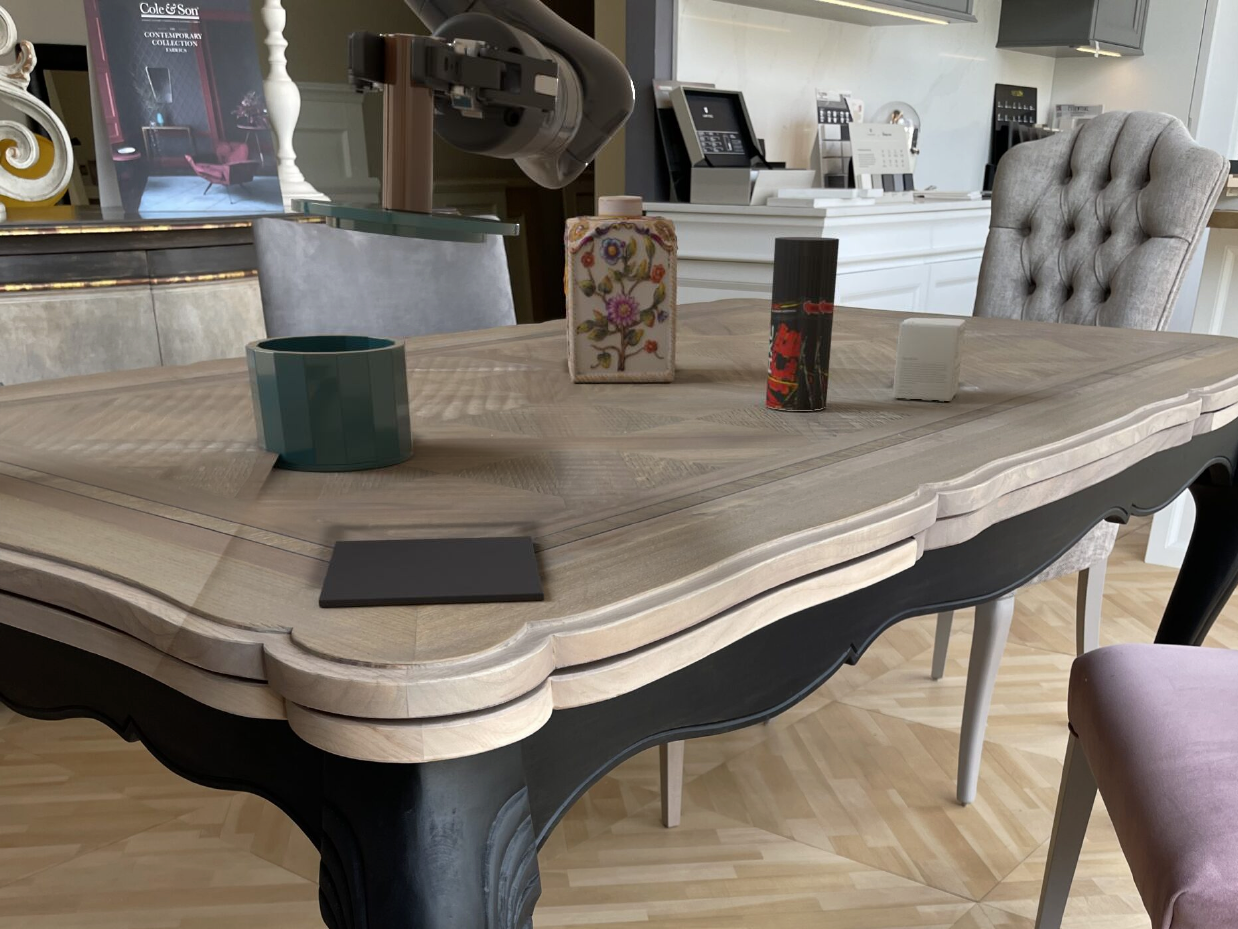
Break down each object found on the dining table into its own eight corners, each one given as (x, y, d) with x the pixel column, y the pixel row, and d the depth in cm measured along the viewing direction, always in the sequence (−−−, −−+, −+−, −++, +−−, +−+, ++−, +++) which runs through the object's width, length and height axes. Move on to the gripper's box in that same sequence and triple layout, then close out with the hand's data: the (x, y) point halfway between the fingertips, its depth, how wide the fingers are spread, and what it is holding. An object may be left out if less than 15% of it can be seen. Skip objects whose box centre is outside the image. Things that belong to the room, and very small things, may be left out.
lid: (248, 219, 68) (240, 8, 64) (351, 223, 79) (351, 44, 75) (473, 247, 66) (481, 30, 62) (546, 247, 77) (557, 64, 73)
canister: (251, 473, 95) (235, 354, 91) (271, 442, 105) (257, 335, 101) (411, 470, 96) (402, 353, 92) (414, 440, 107) (406, 333, 103)
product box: (951, 403, 126) (960, 325, 123) (890, 399, 128) (898, 322, 124) (957, 394, 131) (967, 319, 128) (899, 390, 133) (907, 316, 130)
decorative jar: (666, 368, 146) (669, 195, 138) (676, 383, 136) (681, 198, 127) (564, 368, 146) (561, 194, 137) (567, 384, 135) (564, 197, 127)
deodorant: (837, 409, 122) (851, 240, 115) (784, 413, 120) (795, 240, 113) (806, 400, 127) (817, 236, 120) (754, 404, 125) (763, 237, 118)
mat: (319, 607, 66) (318, 600, 66) (336, 547, 77) (335, 541, 77) (543, 600, 68) (543, 593, 68) (531, 542, 78) (530, 536, 78)
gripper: (396, 13, 81) (264, -40, 66) (604, 32, 78) (517, -18, 63) (395, 146, 84) (269, 124, 69) (594, 167, 82) (509, 150, 67)
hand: (388, 56), depth 66 cm, fingers closed on lid, 3 cm apart
